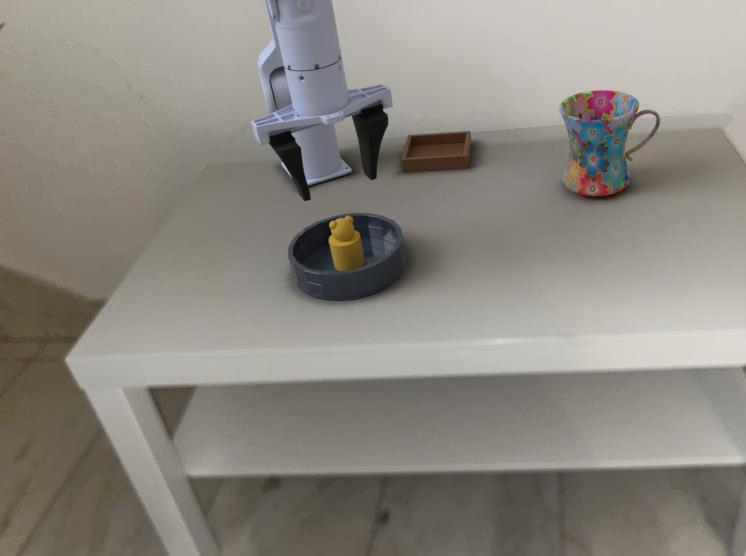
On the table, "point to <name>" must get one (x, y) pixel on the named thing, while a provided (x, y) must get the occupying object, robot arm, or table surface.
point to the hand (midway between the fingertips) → (338, 186)
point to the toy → (345, 245)
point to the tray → (437, 151)
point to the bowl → (377, 273)
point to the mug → (600, 140)
